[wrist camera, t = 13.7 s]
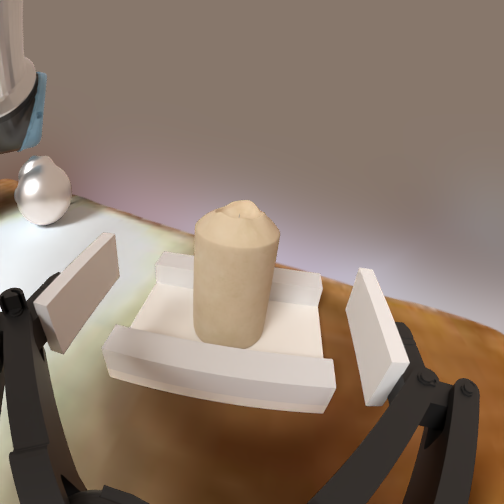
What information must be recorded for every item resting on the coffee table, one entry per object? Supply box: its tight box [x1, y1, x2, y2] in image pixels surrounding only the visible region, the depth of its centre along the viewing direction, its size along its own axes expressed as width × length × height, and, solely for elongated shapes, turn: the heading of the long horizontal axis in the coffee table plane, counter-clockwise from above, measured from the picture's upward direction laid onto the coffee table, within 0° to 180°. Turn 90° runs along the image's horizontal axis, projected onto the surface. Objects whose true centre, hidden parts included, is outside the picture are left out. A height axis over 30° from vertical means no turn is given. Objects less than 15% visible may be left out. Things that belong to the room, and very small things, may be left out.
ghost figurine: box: [14, 156, 72, 225], centre depth 37 cm, size 9×10×10 cm
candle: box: [193, 200, 280, 349], centre depth 22 cm, size 6×6×10 cm
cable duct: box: [101, 251, 336, 414], centre depth 24 cm, size 15×13×3 cm
